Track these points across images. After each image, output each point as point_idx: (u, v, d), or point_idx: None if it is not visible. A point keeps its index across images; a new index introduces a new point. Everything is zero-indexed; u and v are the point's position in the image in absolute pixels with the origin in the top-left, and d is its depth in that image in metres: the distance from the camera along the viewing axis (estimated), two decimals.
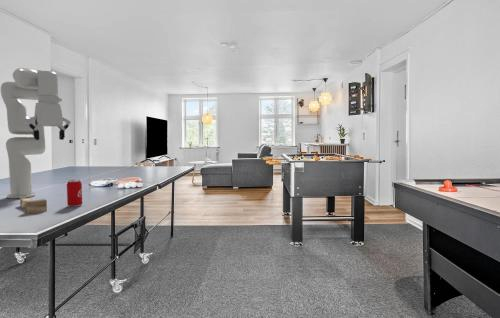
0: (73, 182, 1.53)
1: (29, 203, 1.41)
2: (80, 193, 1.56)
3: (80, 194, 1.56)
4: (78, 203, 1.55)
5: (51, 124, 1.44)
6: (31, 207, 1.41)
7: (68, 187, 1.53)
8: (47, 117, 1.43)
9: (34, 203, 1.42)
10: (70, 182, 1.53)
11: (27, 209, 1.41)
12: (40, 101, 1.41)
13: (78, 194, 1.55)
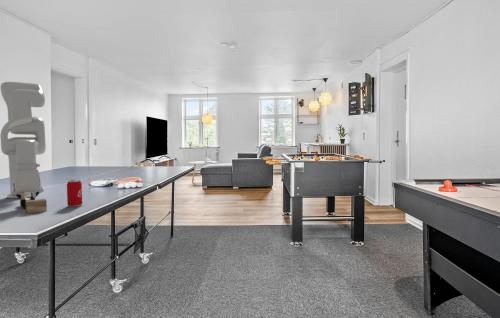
0: (73, 182, 1.53)
1: (29, 203, 1.41)
2: (80, 193, 1.56)
3: (80, 194, 1.56)
4: (78, 203, 1.55)
5: (29, 190, 1.50)
6: (31, 207, 1.41)
7: (68, 187, 1.53)
8: (24, 184, 1.48)
9: (34, 203, 1.42)
10: (70, 182, 1.53)
11: (27, 209, 1.41)
12: (18, 169, 1.47)
13: (78, 194, 1.55)
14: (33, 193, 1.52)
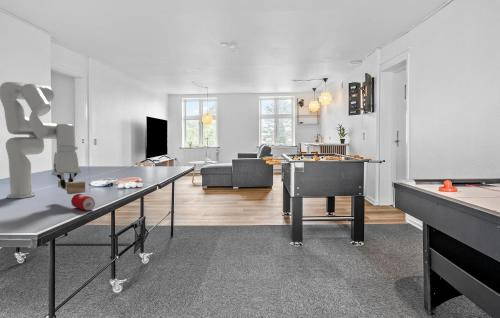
0: (86, 209, 1.46)
1: (70, 184, 1.51)
2: None
3: None
4: None
5: (68, 171, 1.60)
6: (72, 188, 1.52)
7: (79, 206, 1.46)
8: (64, 165, 1.58)
9: (74, 184, 1.53)
10: (84, 208, 1.45)
11: (68, 190, 1.52)
12: (59, 151, 1.57)
13: None
14: (72, 174, 1.62)
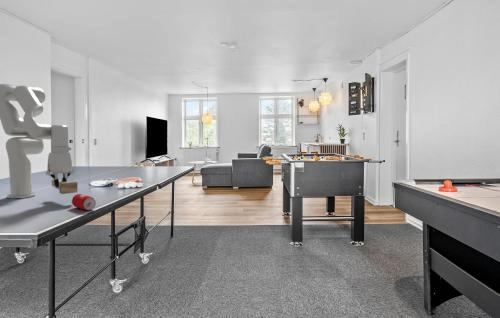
0: (86, 209, 1.46)
1: (63, 184, 1.56)
2: None
3: None
4: None
5: (62, 171, 1.65)
6: (64, 188, 1.57)
7: (80, 206, 1.46)
8: (58, 165, 1.63)
9: (67, 184, 1.58)
10: (84, 207, 1.45)
11: (60, 189, 1.57)
12: (53, 152, 1.62)
13: None
14: (65, 174, 1.67)
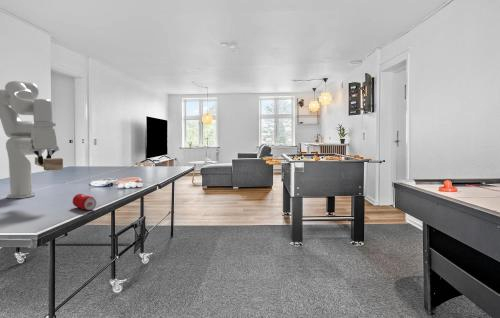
0: (86, 209, 1.46)
1: (47, 160, 1.50)
2: None
3: None
4: None
5: (46, 147, 1.57)
6: (49, 164, 1.50)
7: (80, 205, 1.46)
8: (42, 141, 1.56)
9: (52, 161, 1.51)
10: (84, 207, 1.45)
11: (45, 166, 1.50)
12: (36, 127, 1.54)
13: None
14: (50, 151, 1.59)
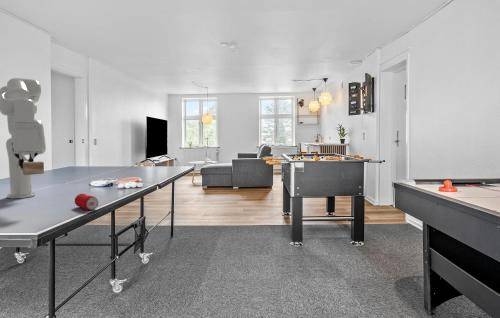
0: (87, 207, 1.46)
1: (26, 164, 1.41)
2: None
3: None
4: None
5: (27, 150, 1.49)
6: (28, 168, 1.41)
7: (82, 202, 1.47)
8: (23, 144, 1.47)
9: (31, 165, 1.42)
10: (86, 205, 1.46)
11: (24, 170, 1.41)
12: (16, 128, 1.46)
13: None
14: (31, 153, 1.51)
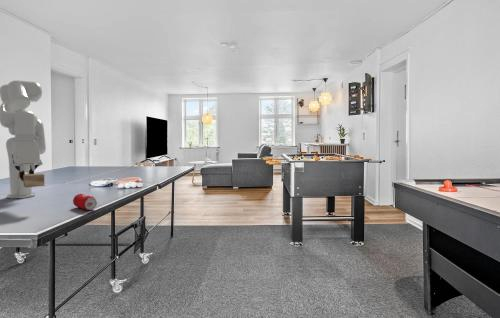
0: (86, 209, 1.46)
1: (27, 177, 1.41)
2: None
3: None
4: None
5: (28, 162, 1.49)
6: (29, 181, 1.42)
7: (81, 204, 1.46)
8: (23, 156, 1.47)
9: (32, 177, 1.42)
10: (85, 206, 1.45)
11: (25, 183, 1.41)
12: (17, 141, 1.46)
13: None
14: (32, 165, 1.51)
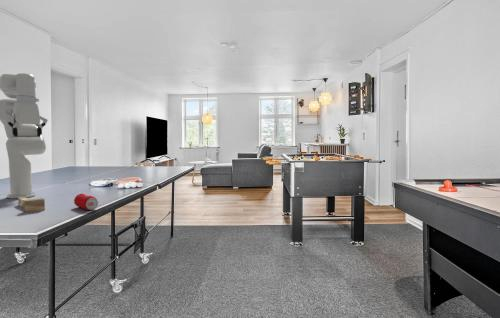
0: (87, 208, 1.46)
1: (27, 202, 1.42)
2: None
3: None
4: None
5: (29, 122, 1.58)
6: (29, 206, 1.43)
7: (82, 203, 1.47)
8: (24, 116, 1.56)
9: (32, 202, 1.44)
10: (85, 206, 1.46)
11: (25, 208, 1.43)
12: (18, 101, 1.55)
13: None
14: (38, 124, 1.61)
